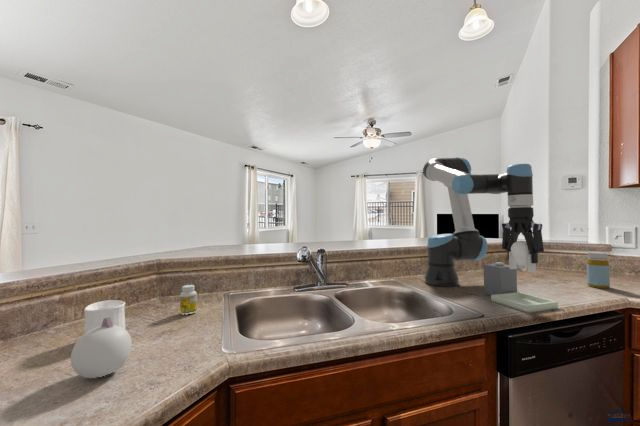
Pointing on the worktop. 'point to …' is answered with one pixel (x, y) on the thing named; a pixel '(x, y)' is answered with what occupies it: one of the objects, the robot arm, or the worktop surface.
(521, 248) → the light bulb
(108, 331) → the ornament
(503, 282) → the box
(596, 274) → the bottle
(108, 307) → the cup
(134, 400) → the worktop surface
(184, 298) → the supplement bottle
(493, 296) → the tray
